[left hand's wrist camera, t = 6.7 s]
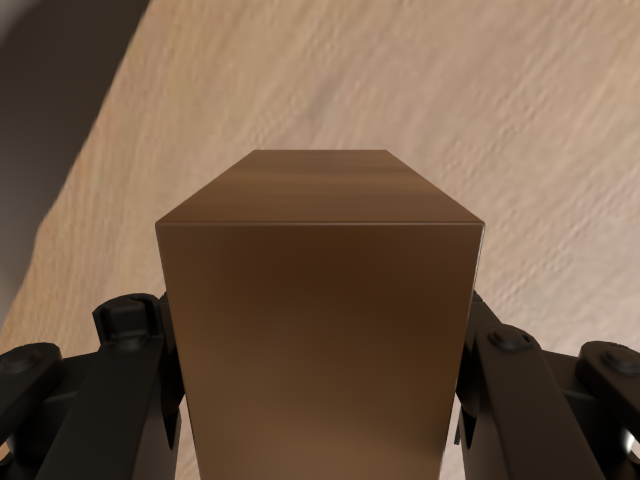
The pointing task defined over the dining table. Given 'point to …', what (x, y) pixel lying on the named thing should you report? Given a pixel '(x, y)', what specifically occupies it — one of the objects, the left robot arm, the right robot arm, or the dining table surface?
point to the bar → (320, 315)
